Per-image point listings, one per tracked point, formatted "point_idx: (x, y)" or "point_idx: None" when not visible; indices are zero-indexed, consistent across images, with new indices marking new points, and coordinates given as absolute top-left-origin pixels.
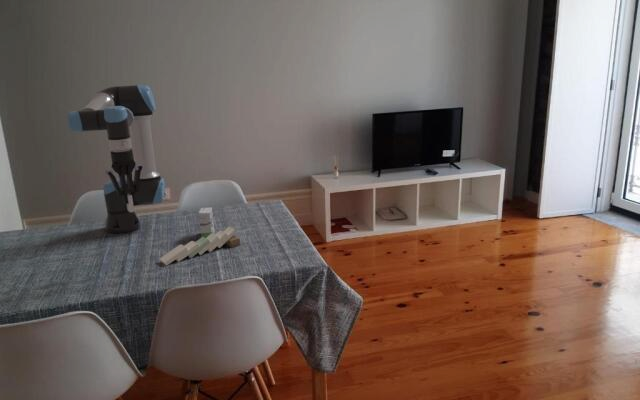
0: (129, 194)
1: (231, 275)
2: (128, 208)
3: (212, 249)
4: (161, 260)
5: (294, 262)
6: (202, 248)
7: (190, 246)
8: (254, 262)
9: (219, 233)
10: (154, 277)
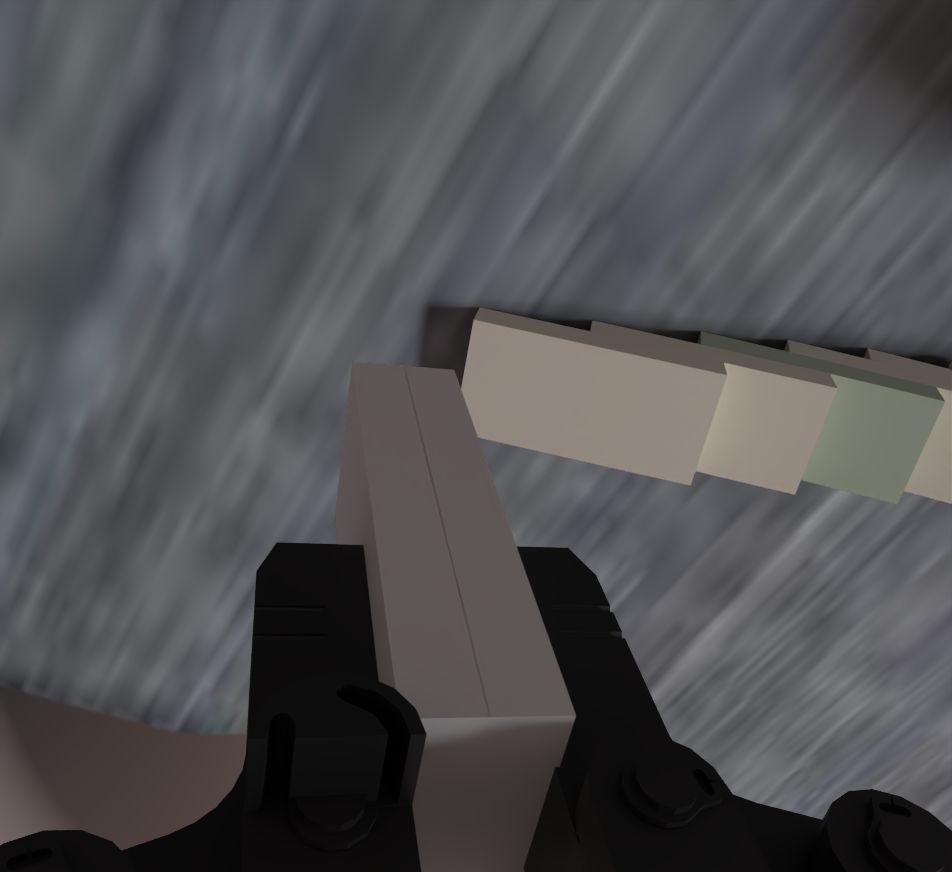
0: (499, 830)
1: None
2: (347, 477)
3: None
4: (465, 367)
5: None
6: None
7: (747, 445)
8: (809, 747)
9: None
10: (270, 541)
